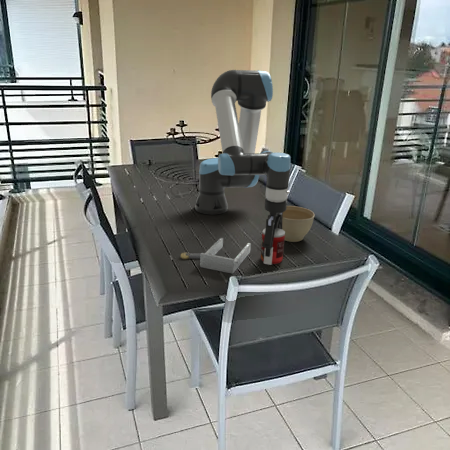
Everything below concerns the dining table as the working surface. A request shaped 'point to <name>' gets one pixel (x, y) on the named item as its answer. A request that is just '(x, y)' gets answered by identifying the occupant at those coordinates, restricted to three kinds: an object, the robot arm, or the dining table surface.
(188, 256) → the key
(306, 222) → the planter bowl
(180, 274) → the dining table surface
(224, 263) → the channel
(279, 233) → the canned food
